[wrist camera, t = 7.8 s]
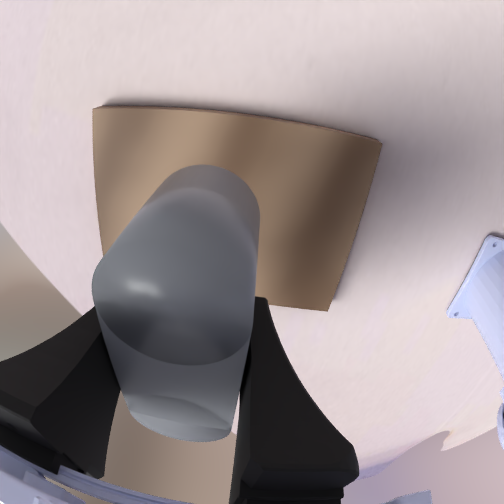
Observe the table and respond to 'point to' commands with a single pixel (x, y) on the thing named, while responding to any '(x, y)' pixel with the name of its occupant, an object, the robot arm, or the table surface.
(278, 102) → the table surface
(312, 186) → the walnut board
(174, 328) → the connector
